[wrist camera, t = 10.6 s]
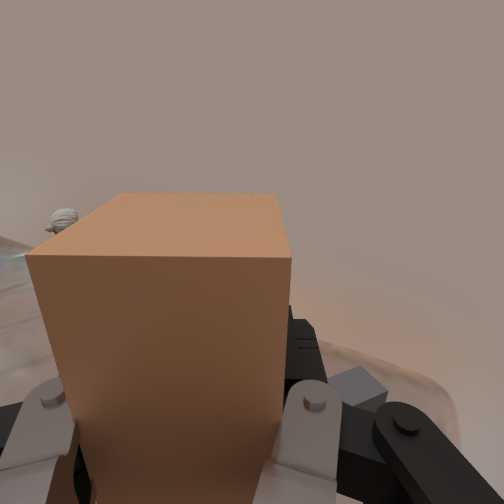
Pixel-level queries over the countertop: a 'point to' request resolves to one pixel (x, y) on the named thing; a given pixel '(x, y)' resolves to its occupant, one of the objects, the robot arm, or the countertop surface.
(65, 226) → the grandmother figurine
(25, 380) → the countertop surface
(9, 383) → the countertop surface
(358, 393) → the charcoal brick
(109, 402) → the light brown brick
